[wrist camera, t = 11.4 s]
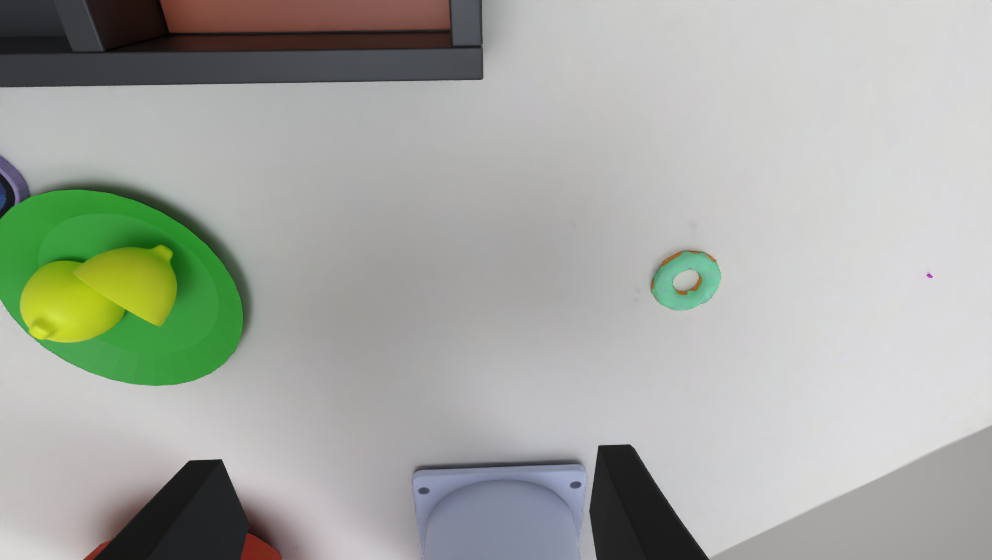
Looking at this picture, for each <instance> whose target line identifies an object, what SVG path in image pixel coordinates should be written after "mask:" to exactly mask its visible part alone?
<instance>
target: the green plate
mask: <svg viewBox="0 0 992 560" xmlns="http://www.w3.org/2000/svg"><path fill="white" fill-rule="evenodd" d="M0 299H1V301H2V303H3V304H4V306H5V307H6V309H7V310H8V312H9V313H10V315H11V316H12V317H13V318H14V319H15V320H16V321H17V323H18V324H19V325H20V326H21V327H22V328H23V329H24V330H25V331H26V332H27V333H28V334H29V335H30V336H31V337H33V338H34V339H35V340H36V341H37V342H39V343H40V344H41V345H42V346H44V347H45V348H46V349H48V350H49V351H51V352H52V353H54V354H56V355H57V356H59V357H60V358H62V359H63V360H65V361H67V362H69V363H71V364H73V365H75V366H77V367H79V368H82V369H84V370H86V371H88V372H91V373H94V374H97V375H99V376H102V377H105V378H108V379H112V380H116V381H121V382H126V383H131V384H139V385H151V386H160V385H176V384H180V383H185V382H189V381H194V380H196V379H199V378H201V377H203V376H206V375H208V374H210V373H212V372H213V371H215V370H216V369H217V368H219V367H220V366H221V365H223V364H224V363H225V362H226V361H227V360H228V358H229V357H230V356H231V355H232V354H233V352H234V351H235V349H236V347H237V345H238V342H239V340H240V338H241V334H242V327H243V312H242V303H241V299H240V297H239V294H238V291H237V288H236V286H235V283H234V281H233V279H232V278H231V276H230V275H229V273H228V271H227V270H226V268H225V266H224V265H223V263H222V262H221V261H220V260H219V259H218V257H217V256H216V255H215V254H214V253H213V252H212V250H211V249H210V248H209V247H208V246H207V245H206V244H205V243H204V242H203V241H202V240H200V239H199V238H198V237H197V236H196V235H194V234H193V233H192V232H191V231H190V230H188V229H187V228H186V227H185V226H183V225H181V224H180V223H178V222H177V221H175V220H173V219H172V218H170V217H168V216H167V215H165V214H164V213H162V212H160V211H158V210H155V209H153V208H151V207H149V206H146V205H144V204H142V203H140V202H137V201H135V200H131V199H128V198H124V197H121V196H117V195H114V194H110V193H105V192H97V191H89V190H80V189H78V190H60V191H51V192H47V193H44V194H40V195H36V196H32V197H30V198H28V199H26V200H24V201H22V202H21V203H19V204H17V205H15V206H13V207H12V208H11V209H10V210H9V211H8V212H7V213H6V214H5V215H4V216H3V217H2V218H1V219H0Z"/></svg>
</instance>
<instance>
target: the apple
mask: <svg viewBox="0 0 992 560" xmlns="http://www.w3.org/2000/svg"><path fill="white" fill-rule="evenodd" d="M113 539H114V538H113ZM113 539H111V540H109V541H107V542H105V543H102V544H100V545H99V546H98V547H97V548H96V549H95V550H94V551H92V552H91V553H90V554H89V555H88V556H87V557H86V558H85V559H83V560H93V559H94V558H95V557H96V556H97V555H98V554H99V553H100V552H101V551H102V550H103V549H104V548H105V547H106V546H107V545H108V544H109V543H110V542H111V541H112V540H113ZM240 560H282V558H281V555H280V553H279V551H278V550H276V549H274V548H273V547H271V546H270V545H268V544H267V543H265V542H263V541H262V540H260V539H259V538H257V537H256V536H254V535H251V534H249V533H247V536H246V540H245V544H244V548H243V552H242V556H241V559H240Z"/></svg>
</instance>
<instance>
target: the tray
mask: <svg viewBox="0 0 992 560" xmlns="http://www.w3.org/2000/svg"><path fill="white" fill-rule="evenodd" d="M482 44H483V34H482V0H0V87H56V86H120V85H183V84H246V83H309V82H373V81H436V80H482V79H483V47H482Z"/></svg>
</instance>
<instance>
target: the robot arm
mask: <svg viewBox="0 0 992 560" xmlns="http://www.w3.org/2000/svg"><path fill="white" fill-rule="evenodd" d="M586 481H587V474H586V469H585V467H584V466H582V465H579V464H567V465H540V466H514V467H487V468H461V469H434V470H419V471H417V472H415V473H414V474H413V478H412V487H413V494H414V501H415V508H416V516H417V523H418V530H419V537H420V544H421V551H422V558H423V560H581V558H580V553H579V547H578V543H579V535H580V528H581V520H582V512H583V504H584V496H585V489H586ZM589 512H590V519H591V525H592V532H593V539H594V545H595V551H596V557H597V560H709V559H708V557H707V556H706V554H705V553H704V552H703V550H702V549H701V548H700V546H699V545H698V543H697V542H696V541H695V539H694V538H693V537H692V535H691V534H690V533H689V531H688V530H687V528H686V527H685V526H684V524H683V523H682V521H681V520H680V518H679V517H678V516H677V514H676V513H675V511H674V510H673V508H672V507H671V505H670V504H669V502H668V501H667V499H666V498H665V496H664V495H663V493H662V492H661V490H660V489H659V487H658V486H657V484H656V483H655V481H654V480H653V478H652V476H651V475H650V473H649V472H648V470H647V468H646V467H645V465H644V464H643V462H642V460H641V459H640V457H639V455H638V454H637V452H636V450H635V449H634V448H633V447H632V446H631V445H630V444H627V445H600V446H598V453H597V460H596V467H595V474H594V481H593V489H592V496H591V503H590V510H589ZM248 528H249V523H248V520H247V518H246V516H245V513H244V511H243V509H242V506H241V504H240V501H239V499H238V497H237V494H236V492H235V490H234V487H233V485H232V482H231V480H230V478H229V475H228V473H227V471H226V468H225V466H224V463H223V461H222V459H218V460H191V461H188V462H187V463H186V464H185V466H184V467H183V468H182V469H181V470H180V471H179V472H178V473H177V474H176V475H175V476H174V477H173V478H172V479H171V480H170V481H169V482H168V483H167V484H166V485H165V486H164V487H163V488H162V489H161V490H160V491H159V492H158V493H157V494H156V495H155V496H154V497H153V498H152V499H151V500H150V501H149V502H148V503H147V505H146V506H145V507H144V508H143V509H142V510H141V511H140V512H139V513H138V514H137V515H136V516H135V517H134V518H133V519H132V520H131V521H130V522H129V523H128V524H127V525H126V526H125V527H124V528H123V529H122V530H121V531H120V533H119V534H118V535H117V536H116V537H115V538H114V539H113V540H112V541H111V542H110V543H109V544H108V545H107V546H106V547H105V548H104V549H103V550H102V551H101V552H100V553H99V554H98V555H97V556H96V557H95V558H94V559H93V560H240V559H241V556H242V552H243V548H244V544H245V540H246V536H247V532H248Z"/></svg>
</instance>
